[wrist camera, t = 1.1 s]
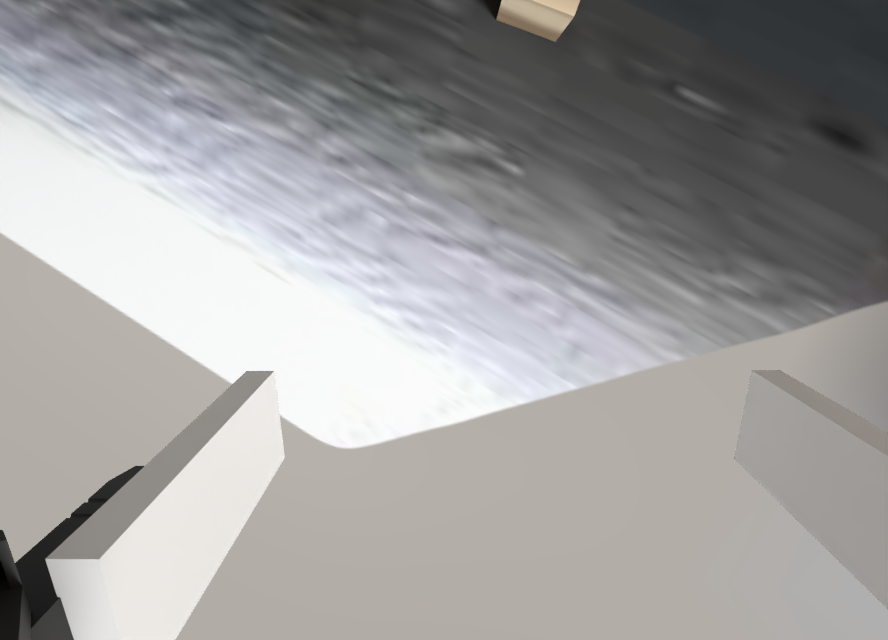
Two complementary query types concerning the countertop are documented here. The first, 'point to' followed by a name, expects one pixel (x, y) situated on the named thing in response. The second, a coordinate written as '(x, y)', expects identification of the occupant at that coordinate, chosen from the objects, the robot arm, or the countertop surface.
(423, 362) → the countertop surface
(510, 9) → the bar
